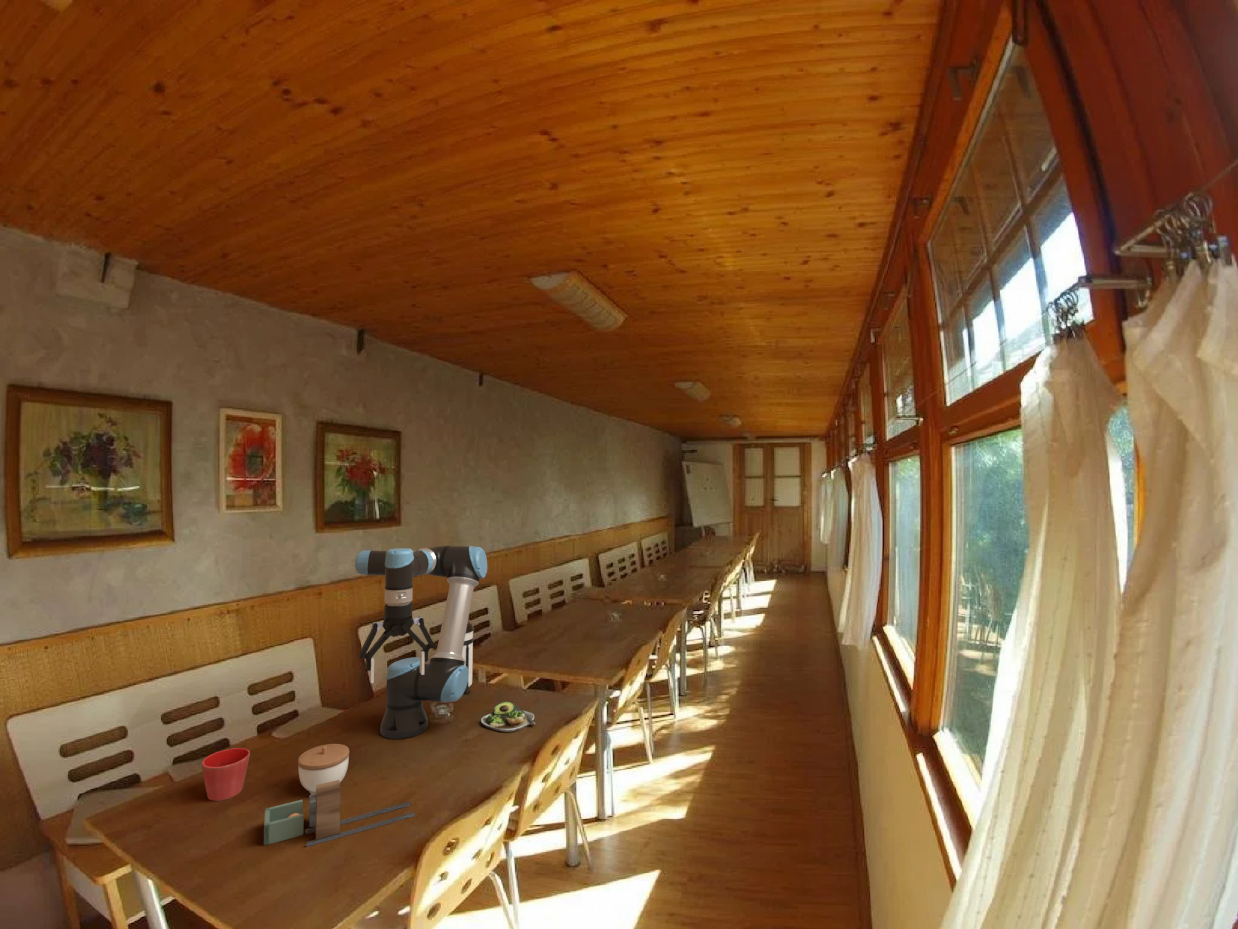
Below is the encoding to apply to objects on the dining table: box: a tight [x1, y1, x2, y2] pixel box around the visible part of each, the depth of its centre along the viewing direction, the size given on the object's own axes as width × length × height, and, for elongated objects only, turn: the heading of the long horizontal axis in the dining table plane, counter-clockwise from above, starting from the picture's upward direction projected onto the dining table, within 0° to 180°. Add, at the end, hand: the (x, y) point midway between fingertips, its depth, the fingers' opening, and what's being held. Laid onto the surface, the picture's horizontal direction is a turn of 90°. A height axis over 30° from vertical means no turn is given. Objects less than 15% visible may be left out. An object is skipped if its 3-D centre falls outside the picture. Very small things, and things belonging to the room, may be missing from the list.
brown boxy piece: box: [308, 780, 342, 840], centre depth 138 cm, size 10×6×11 cm, turn 31°
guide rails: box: [305, 800, 415, 848], centre depth 140 cm, size 6×24×1 cm, turn 121°
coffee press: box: [462, 621, 475, 695], centre depth 228 cm, size 17×16×30 cm
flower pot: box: [201, 747, 251, 802], centre depth 153 cm, size 11×11×10 cm
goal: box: [263, 799, 305, 847], centre depth 137 cm, size 8×8×4 cm
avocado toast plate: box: [480, 701, 536, 733], centre depth 199 cm, size 19×18×5 cm
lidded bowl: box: [297, 743, 350, 795], centre depth 156 cm, size 13×13×11 cm
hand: (397, 677), depth 162 cm, fingers open, 13 cm apart
